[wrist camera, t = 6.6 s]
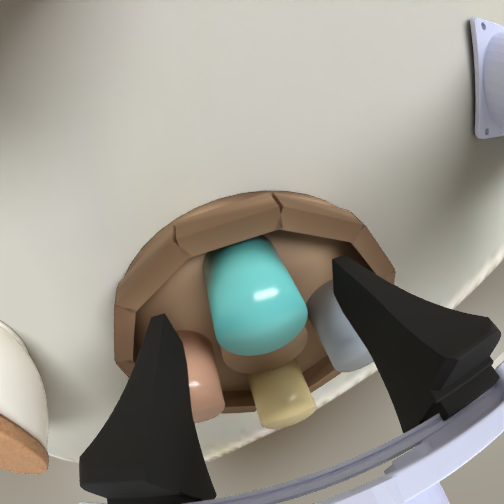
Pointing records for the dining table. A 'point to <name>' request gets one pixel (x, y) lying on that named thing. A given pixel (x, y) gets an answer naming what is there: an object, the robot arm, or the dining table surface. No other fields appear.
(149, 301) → the ring tray
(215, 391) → the bead terracotta
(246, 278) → the bead teal
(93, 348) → the dining table surface
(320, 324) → the bead slate
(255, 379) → the bead mustard
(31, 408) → the lidded jar
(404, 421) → the robot arm
